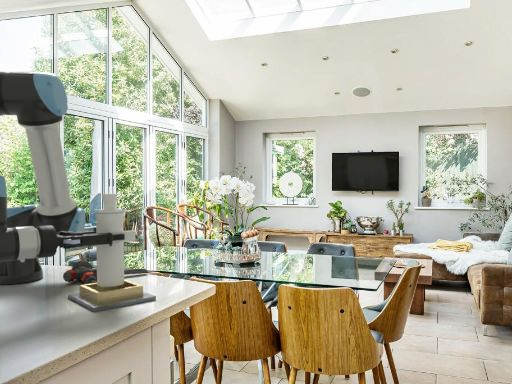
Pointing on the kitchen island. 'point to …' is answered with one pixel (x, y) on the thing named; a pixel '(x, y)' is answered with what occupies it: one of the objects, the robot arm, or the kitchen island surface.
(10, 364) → the kitchen island surface
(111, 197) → the white bottle
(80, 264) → the power drill
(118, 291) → the flange plate
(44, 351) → the kitchen island surface
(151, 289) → the kitchen island surface
